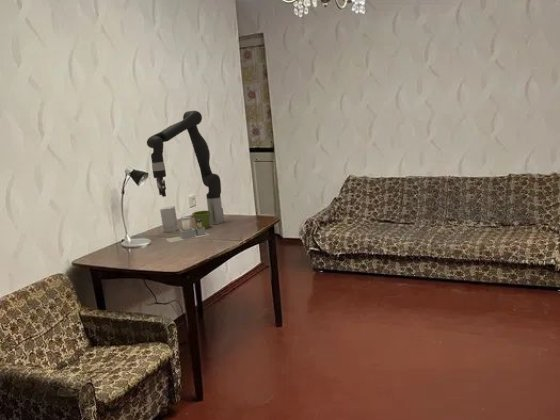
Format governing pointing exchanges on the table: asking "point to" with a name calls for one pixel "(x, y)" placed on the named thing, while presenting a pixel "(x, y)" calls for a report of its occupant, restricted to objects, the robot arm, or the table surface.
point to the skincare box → (169, 219)
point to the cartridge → (185, 223)
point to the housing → (189, 234)
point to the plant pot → (203, 217)
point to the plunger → (199, 223)
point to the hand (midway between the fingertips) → (162, 195)
